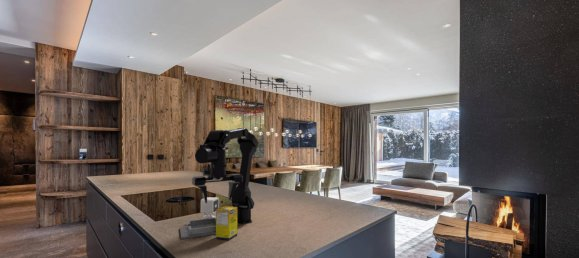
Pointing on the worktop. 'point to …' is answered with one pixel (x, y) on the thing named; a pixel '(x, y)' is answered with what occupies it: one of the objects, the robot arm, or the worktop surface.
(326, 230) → the worktop surface
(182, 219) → the worktop surface
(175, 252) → the worktop surface
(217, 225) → the supplement box
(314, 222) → the worktop surface
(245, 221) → the robot arm
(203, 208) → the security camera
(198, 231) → the plate
